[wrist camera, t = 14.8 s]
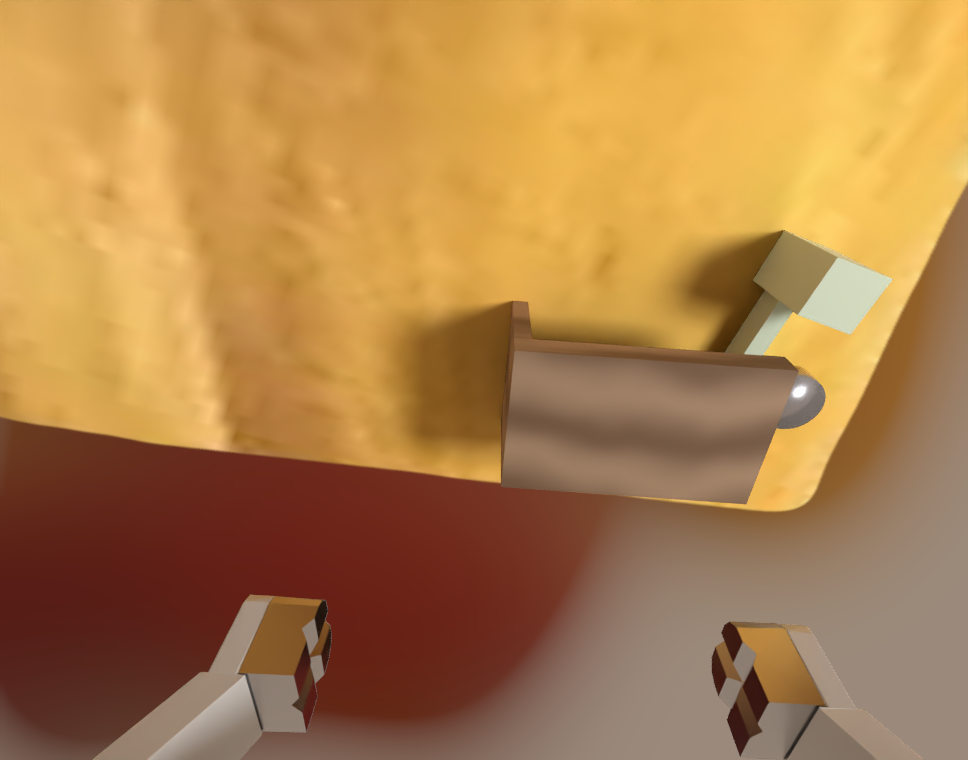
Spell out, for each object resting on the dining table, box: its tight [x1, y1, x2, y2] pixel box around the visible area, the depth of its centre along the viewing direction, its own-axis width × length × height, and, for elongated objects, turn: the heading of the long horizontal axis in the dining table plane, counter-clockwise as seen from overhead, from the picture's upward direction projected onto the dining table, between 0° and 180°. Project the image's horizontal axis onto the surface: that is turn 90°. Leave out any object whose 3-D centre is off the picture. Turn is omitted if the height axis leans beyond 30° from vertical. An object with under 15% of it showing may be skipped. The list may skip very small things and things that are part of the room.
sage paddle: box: [724, 230, 893, 355], centre depth 39 cm, size 16×4×7 cm, turn 160°
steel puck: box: [777, 366, 825, 429], centre depth 44 cm, size 5×5×2 cm
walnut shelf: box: [501, 301, 799, 504], centre depth 40 cm, size 11×18×9 cm, turn 86°
